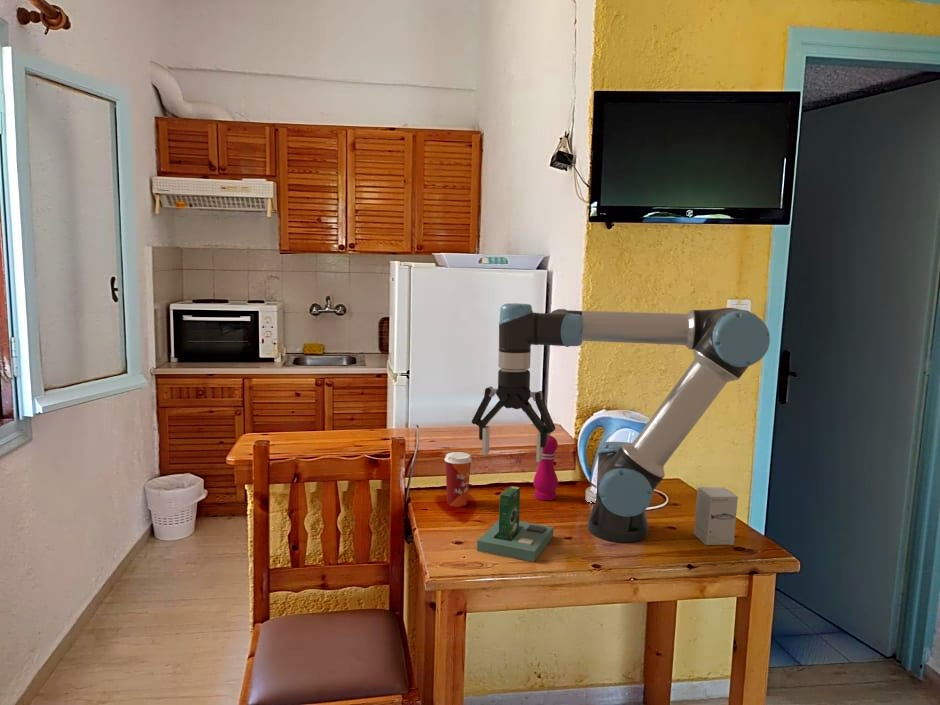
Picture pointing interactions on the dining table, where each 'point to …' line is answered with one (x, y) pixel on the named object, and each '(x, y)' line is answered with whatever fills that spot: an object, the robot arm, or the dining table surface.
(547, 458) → the pepper mill
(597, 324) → the robot arm
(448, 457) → the paper cup
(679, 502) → the dining table surface
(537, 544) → the socket board
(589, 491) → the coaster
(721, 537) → the supplement box
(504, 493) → the coffee box
